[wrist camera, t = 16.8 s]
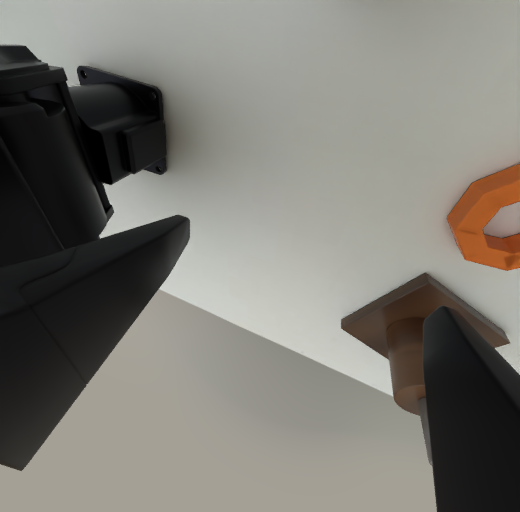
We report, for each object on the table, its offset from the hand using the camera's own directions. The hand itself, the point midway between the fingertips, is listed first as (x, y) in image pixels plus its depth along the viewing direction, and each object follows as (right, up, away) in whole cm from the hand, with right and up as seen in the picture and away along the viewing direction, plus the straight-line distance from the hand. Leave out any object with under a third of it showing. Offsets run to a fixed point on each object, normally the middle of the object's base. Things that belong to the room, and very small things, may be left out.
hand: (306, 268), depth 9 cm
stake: (+14, -7, +16) cm, 23 cm away
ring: (+15, +3, +8) cm, 17 cm away
